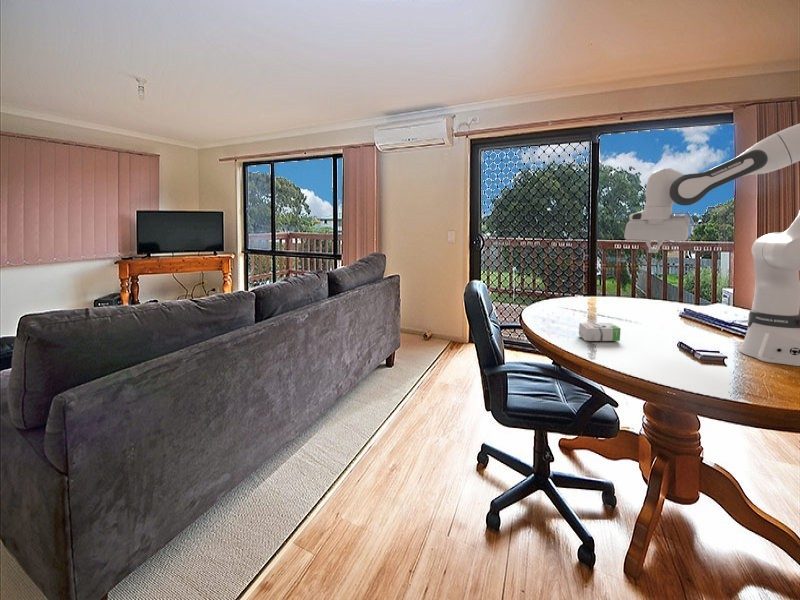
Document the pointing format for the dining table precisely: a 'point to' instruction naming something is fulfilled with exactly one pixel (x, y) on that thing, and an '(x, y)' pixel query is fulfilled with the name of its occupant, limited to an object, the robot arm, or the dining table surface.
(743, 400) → the dining table surface
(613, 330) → the ink box
